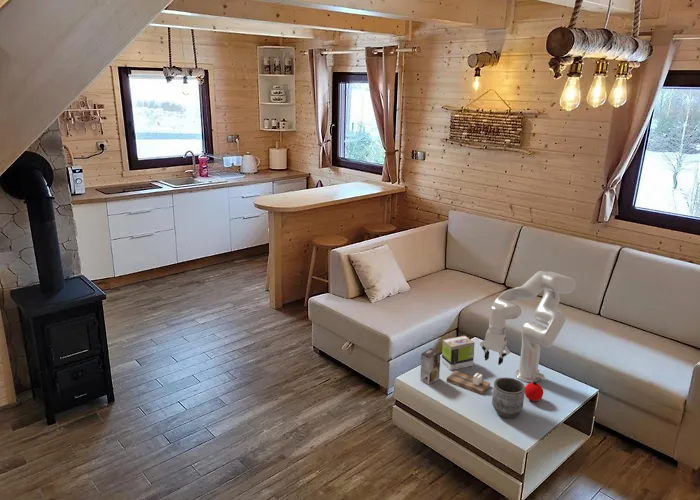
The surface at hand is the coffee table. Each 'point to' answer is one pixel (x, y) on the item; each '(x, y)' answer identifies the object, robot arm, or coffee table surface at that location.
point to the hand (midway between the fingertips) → (493, 361)
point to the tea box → (457, 352)
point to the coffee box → (430, 366)
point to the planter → (508, 397)
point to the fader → (477, 379)
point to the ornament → (533, 391)
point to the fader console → (467, 382)
